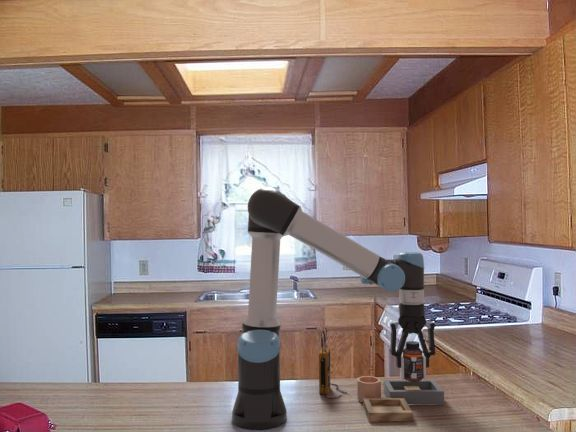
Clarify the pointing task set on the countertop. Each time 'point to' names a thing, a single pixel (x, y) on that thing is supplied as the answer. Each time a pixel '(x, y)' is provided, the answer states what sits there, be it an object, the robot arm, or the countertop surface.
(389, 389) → the tray
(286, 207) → the robot arm
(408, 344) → the supplement bottle
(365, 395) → the empty cup
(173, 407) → the countertop surface
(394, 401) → the square wooden tray
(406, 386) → the pad
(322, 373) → the multimeter
